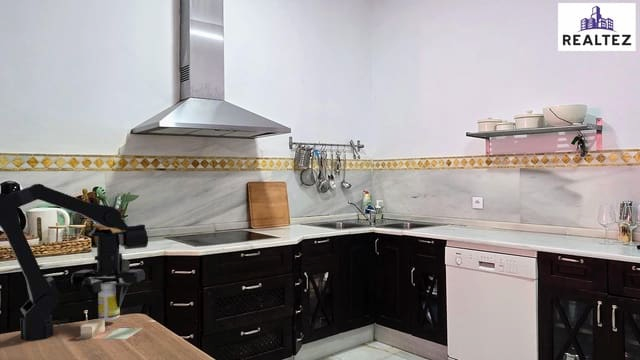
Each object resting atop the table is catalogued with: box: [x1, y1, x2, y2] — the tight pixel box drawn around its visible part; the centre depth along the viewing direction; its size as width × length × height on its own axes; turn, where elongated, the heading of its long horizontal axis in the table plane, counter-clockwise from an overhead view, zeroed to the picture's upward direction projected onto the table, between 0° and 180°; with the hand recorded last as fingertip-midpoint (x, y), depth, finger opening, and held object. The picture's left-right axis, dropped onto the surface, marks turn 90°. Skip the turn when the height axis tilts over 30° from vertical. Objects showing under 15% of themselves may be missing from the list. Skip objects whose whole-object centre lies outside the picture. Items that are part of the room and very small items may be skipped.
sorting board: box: [75, 327, 143, 340], centre depth 124 cm, size 14×10×1 cm
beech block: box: [80, 319, 106, 338], centre depth 123 cm, size 6×3×3 cm, turn 176°
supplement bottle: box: [97, 281, 121, 321], centre depth 133 cm, size 5×5×10 cm
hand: (109, 307), depth 133 cm, fingers closed on supplement bottle, 5 cm apart
